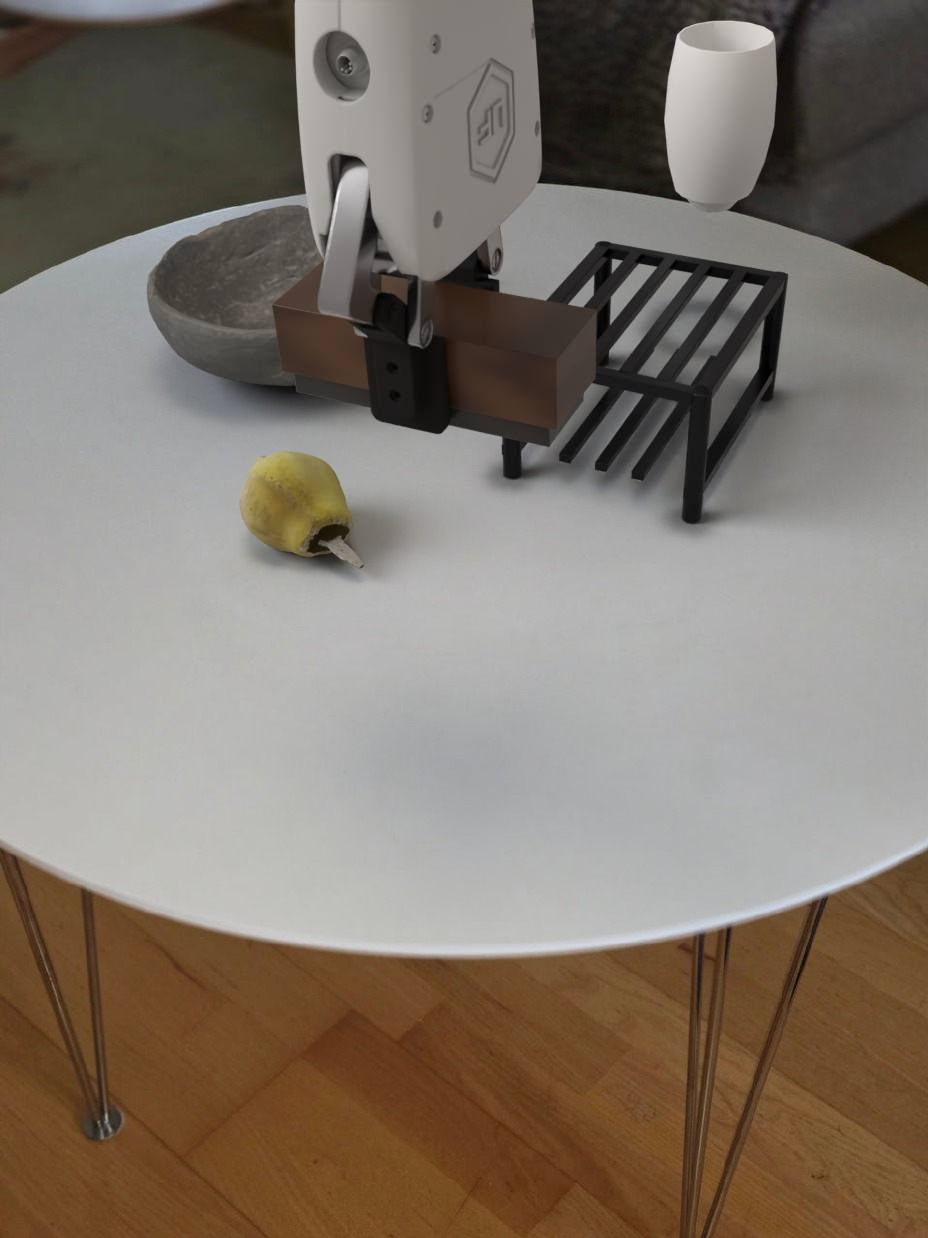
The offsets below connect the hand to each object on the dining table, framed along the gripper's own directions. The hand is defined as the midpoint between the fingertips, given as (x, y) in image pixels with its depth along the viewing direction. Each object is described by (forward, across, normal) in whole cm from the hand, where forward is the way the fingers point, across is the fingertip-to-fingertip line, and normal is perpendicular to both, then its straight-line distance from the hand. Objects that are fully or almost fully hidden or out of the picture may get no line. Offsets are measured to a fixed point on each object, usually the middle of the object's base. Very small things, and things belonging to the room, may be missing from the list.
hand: (438, 389), depth 55 cm
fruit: (+22, +12, +16) cm, 30 cm away
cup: (+22, +46, +3) cm, 51 cm away
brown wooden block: (0, 0, 0) cm, 0 cm away
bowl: (+21, +31, +29) cm, 47 cm away
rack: (+21, +31, +2) cm, 38 cm away
